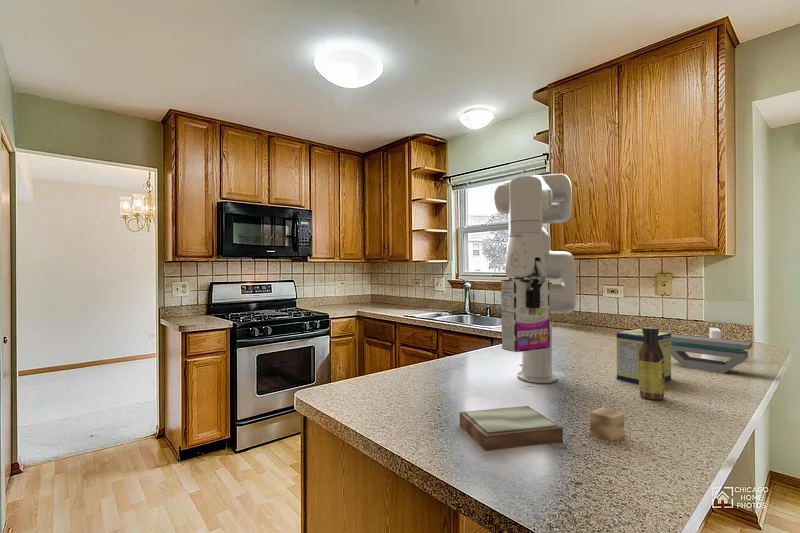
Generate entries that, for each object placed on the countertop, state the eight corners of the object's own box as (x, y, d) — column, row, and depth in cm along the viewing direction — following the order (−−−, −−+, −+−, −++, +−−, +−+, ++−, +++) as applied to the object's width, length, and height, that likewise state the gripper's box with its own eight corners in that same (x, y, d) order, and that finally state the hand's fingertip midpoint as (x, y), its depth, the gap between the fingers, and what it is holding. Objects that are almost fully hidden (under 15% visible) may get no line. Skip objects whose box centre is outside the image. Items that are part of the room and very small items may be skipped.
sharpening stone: (663, 364, 156) (663, 335, 156) (669, 361, 161) (669, 333, 161) (748, 377, 138) (748, 345, 137) (752, 373, 143) (752, 342, 143)
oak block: (590, 433, 92) (590, 411, 92) (602, 428, 95) (602, 407, 95) (612, 441, 88) (612, 418, 88) (624, 436, 91) (624, 413, 91)
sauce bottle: (668, 401, 113) (668, 330, 113) (643, 400, 115) (643, 329, 115) (658, 394, 120) (658, 326, 120) (635, 393, 121) (635, 325, 121)
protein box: (671, 379, 136) (671, 332, 136) (649, 387, 127) (649, 337, 127) (638, 372, 145) (638, 328, 144) (615, 379, 136) (615, 332, 136)
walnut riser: (459, 424, 97) (459, 410, 97) (527, 417, 101) (527, 404, 101) (485, 450, 84) (485, 434, 83) (562, 441, 88) (562, 426, 88)
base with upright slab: (730, 362, 158) (730, 331, 158) (701, 360, 163) (702, 329, 163) (727, 358, 166) (728, 328, 166) (700, 355, 171) (700, 327, 170)
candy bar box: (534, 345, 101) (534, 278, 101) (550, 348, 97) (550, 279, 97) (499, 348, 96) (500, 278, 96) (515, 352, 91) (515, 279, 92)
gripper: (493, 232, 104) (493, 304, 104) (531, 225, 87) (531, 310, 87) (520, 233, 106) (520, 303, 106) (562, 226, 89) (562, 309, 89)
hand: (525, 305), depth 96 cm, fingers closed on candy bar box, 5 cm apart
